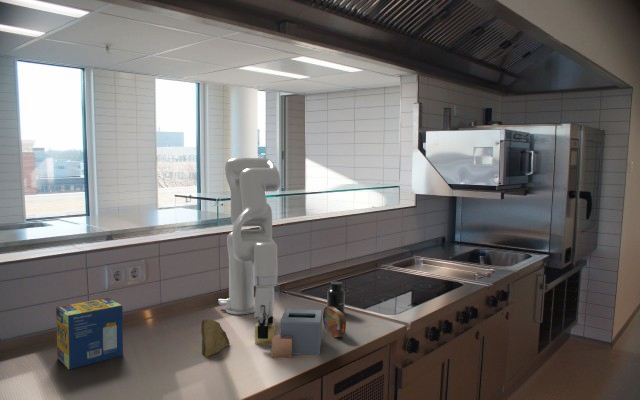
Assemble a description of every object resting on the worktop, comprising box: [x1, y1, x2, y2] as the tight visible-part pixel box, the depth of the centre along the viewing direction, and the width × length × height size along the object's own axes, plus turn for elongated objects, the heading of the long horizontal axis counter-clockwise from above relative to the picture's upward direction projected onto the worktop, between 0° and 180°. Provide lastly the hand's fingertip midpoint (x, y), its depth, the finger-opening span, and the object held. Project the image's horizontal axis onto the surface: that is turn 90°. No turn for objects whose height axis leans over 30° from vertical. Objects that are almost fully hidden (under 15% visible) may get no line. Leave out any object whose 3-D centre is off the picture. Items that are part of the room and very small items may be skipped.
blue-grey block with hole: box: [279, 308, 323, 355], centre depth 151 cm, size 12×12×10 cm
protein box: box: [55, 297, 124, 370], centre depth 140 cm, size 10×15×16 cm
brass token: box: [254, 322, 276, 345], centre depth 154 cm, size 2×6×6 cm, turn 87°
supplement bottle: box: [326, 281, 346, 315], centre depth 185 cm, size 7×7×12 cm
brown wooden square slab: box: [271, 334, 293, 359], centre depth 143 cm, size 2×6×6 cm, turn 87°
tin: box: [322, 305, 347, 338], centre depth 163 cm, size 15×3×8 cm, turn 21°
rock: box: [200, 318, 230, 358], centre depth 147 cm, size 11×9×10 cm
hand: (265, 333), depth 153 cm, fingers open, 9 cm apart
